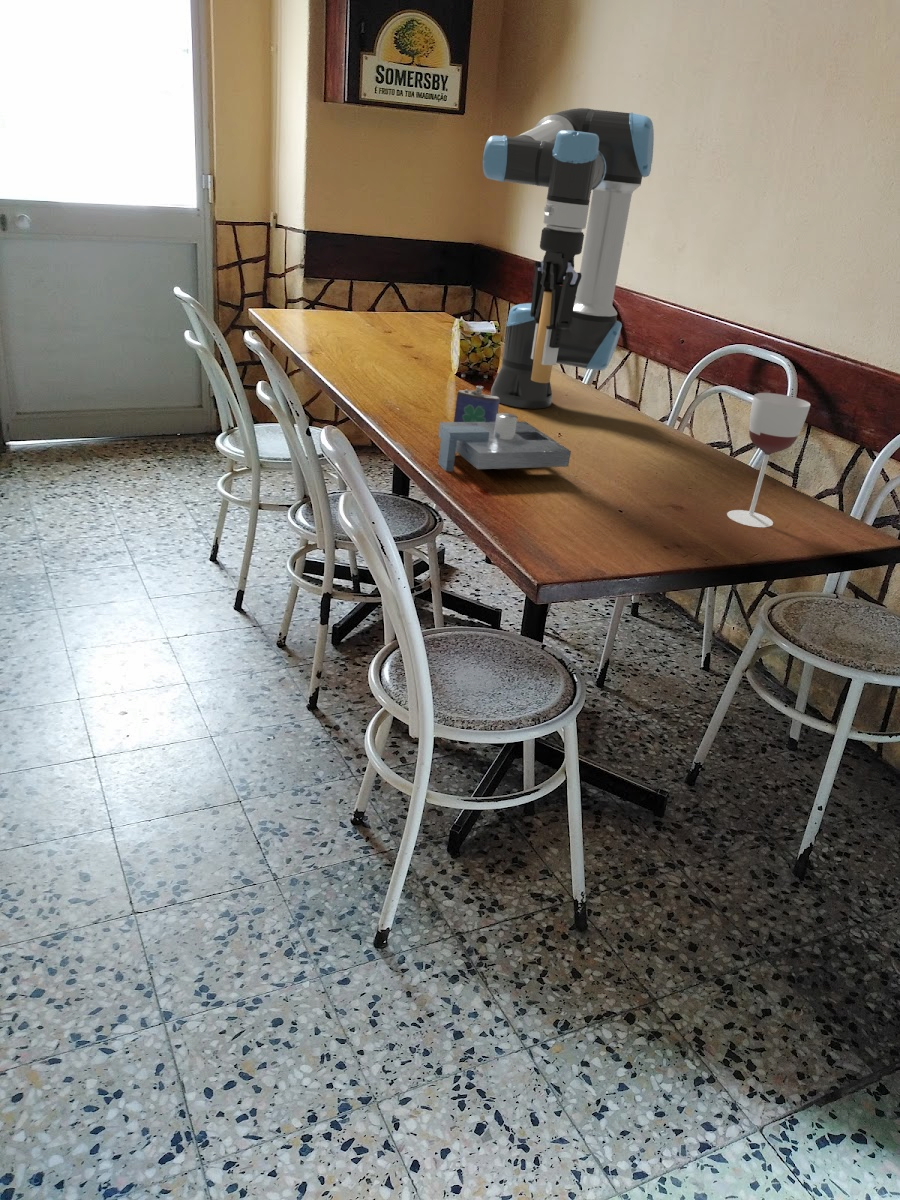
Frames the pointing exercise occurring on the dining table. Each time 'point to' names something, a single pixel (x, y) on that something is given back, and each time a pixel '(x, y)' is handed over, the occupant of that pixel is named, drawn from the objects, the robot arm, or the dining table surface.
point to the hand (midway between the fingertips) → (543, 361)
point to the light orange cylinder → (542, 343)
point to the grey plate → (499, 445)
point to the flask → (476, 406)
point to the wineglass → (771, 440)
